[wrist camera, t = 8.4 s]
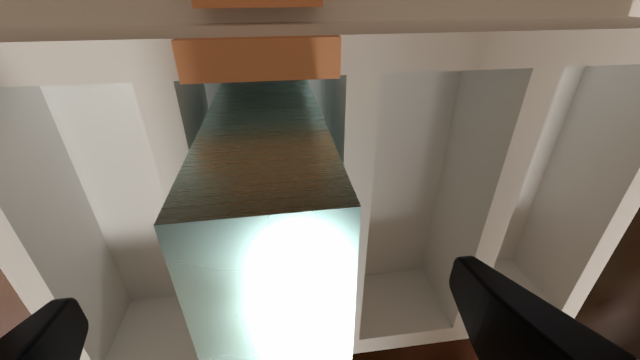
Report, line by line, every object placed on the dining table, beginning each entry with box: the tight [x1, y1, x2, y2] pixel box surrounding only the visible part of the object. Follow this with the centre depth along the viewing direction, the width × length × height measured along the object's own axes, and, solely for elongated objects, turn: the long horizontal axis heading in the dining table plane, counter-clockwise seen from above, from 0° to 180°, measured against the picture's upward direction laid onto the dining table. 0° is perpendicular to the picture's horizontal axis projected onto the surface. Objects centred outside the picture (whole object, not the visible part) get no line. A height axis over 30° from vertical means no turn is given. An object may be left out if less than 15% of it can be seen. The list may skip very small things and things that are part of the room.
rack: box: [0, 0, 640, 360], centre depth 11 cm, size 14×20×4 cm
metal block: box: [153, 80, 361, 360], centre depth 9 cm, size 8×2×7 cm, turn 1°
